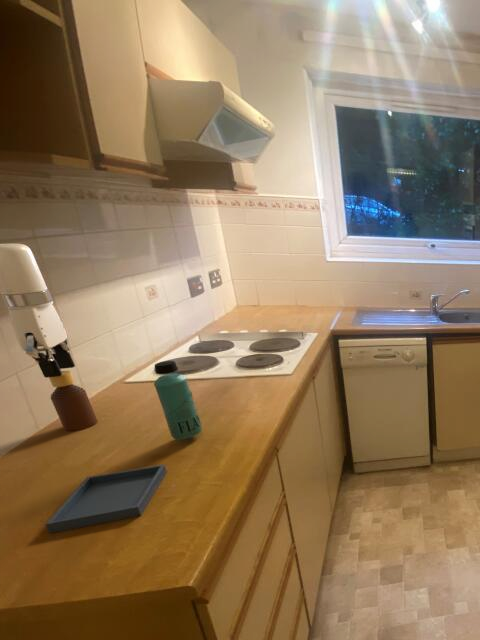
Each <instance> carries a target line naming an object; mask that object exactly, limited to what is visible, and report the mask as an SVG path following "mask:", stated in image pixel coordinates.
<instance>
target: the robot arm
mask: <svg viewBox="0 0 480 640" xmlns="http://www.w3.org/2000/svg"><path fill="white" fill-rule="evenodd" d="M0 295H1V297H2V300H3V302H4V304H5V306H6V309H8V317H9V320H10V324H11V326H12V329H13V332H14V335H15V337H16V339H17V342H18V344H19V346H20V349H21V350H22V351H24V352H25V354H26V355H27V356H29V357H31V358H32V359H34V362H35V363H37V364H38V366H39V369H40V371H41V373H42V376H43V377H44V378H46V379H47V378H48V379H49V377H57V376H61V375H62V372H61V371H62V370H63V369H64V370H65V369H72V368H75V367H76V365H75V364H76V363H75V361H74V360H73V358H72V354H71V353H70V352H71V351H70V348H69V346H68V334H67V331H66V328H65V325H64V324H63V321H62V320H61V317H60V316H59V314H58V312H57V310H56V308H55V306H54V305H53V304H54V301H53V298H52V296H51V293H50V291H49V289H48V287H47V285H46V282H45V279H44V277H43V275H42V272H41V269H40V267H39V265H38V263H37V261H36V258H35V255H34V253H33V251H32V249H31V248H30V247H29V246H28V245H26V244H24V243H15V242H14V243H0ZM39 347H41V348H39ZM44 352H45V353H44Z"/></svg>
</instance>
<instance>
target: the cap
mask: <svg viewBox="0 0 480 640" xmlns="http://www.w3.org/2000/svg"><path fill="white" fill-rule="evenodd" d="M61 372H62V375H61V376H57V377H48V379H49V381H50V384H51V385H52V387H53V388H57V387H62V386H67V385H71V384H75V379H74V376H73V374H72V372H71V370H61Z"/></svg>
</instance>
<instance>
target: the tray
mask: <svg viewBox="0 0 480 640" xmlns="http://www.w3.org/2000/svg"><path fill="white" fill-rule="evenodd" d="M166 474H168V470H167V468H166V465H165V464H159V465H152V466H147V467H140V468H134V469H128V470H120V471H116V472H109V473H104V474H97V475H92V476H86V478H85V479H84V480H83V481H82V482H81V483H80V484H79V486H78V487H77V488H76V489H75V490H74V491H73V492H72V493H71V495H70V496H69V497H68V498H67V499H66V500H65V502H64V503H63V504H61V506H60V507H59V508H58V509H57V510H56V512H54V514H53V515H52V516H51V517H50V518H49V520H48V521H47V522H46V523H45V526H46V530H47V531H48V533H49V534H54V533H59V532H64V531H69V530H73V529H74V530H75V529H79V528H85V527H90V526H95V525H101V524H105V523H111V522H114V521H121V520H125V519H130V518H135V517H141V516H142V514H143V513H144V512H145V510H146V508H147V506H148V505H149V503H150V501H151V500H152V499H153V496H154V495H155V493H156V492H157V490H158V488H159V486H160V485H161V483H162V481H163V480H164V478H165V476H166Z"/></svg>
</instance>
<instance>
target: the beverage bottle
mask: <svg viewBox="0 0 480 640" xmlns="http://www.w3.org/2000/svg"><path fill="white" fill-rule="evenodd" d="M154 369H155V370H154V371H155V373H156V374H157V375H160V376H159V377H158V378H156V380H155V381H154V382H153V386H154V388H155V391H156V393H157V396H158V399H159V402H160V405H161V408H162V411H163V415H164V417H165V420H166V421H165V422H166V424H167V427H168V430H169V432H170V435H171V437H172V439H174V440H185V439H186V440H187V439H190V438H193V437H196V436H198V435H200V434H201V432H202V430H203V426H202V422H201V420H200V416H199V413H198V408H197V407H196V405H195V404H196V403H195V401H194V397H193V393H192V390H191V387H190V385H189V383H188V378H187V377H186V376H185V375H183V374H180V373H178V372H177V371H179V367H178V365H177V363H176V361H174V360H164V361H159V362H157V363H155V364H154ZM174 372H177V373H174Z"/></svg>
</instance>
